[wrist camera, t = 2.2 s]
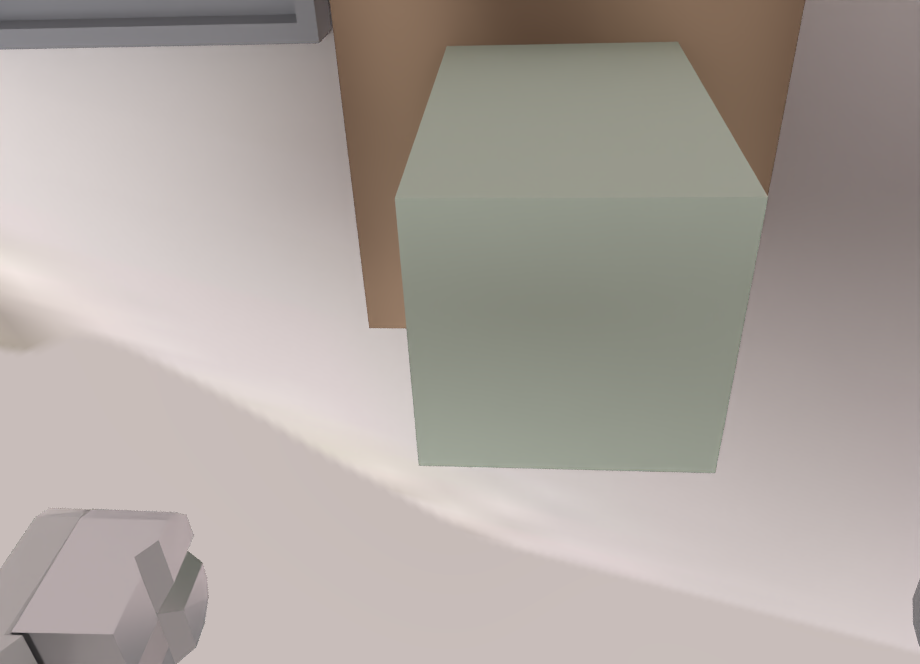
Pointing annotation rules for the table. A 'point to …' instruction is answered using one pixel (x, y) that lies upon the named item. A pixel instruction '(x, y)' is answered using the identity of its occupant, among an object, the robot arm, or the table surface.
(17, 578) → the robot arm
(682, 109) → the plug block
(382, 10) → the walnut stand
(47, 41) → the charcoal tray
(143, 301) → the table surface
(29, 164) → the table surface
